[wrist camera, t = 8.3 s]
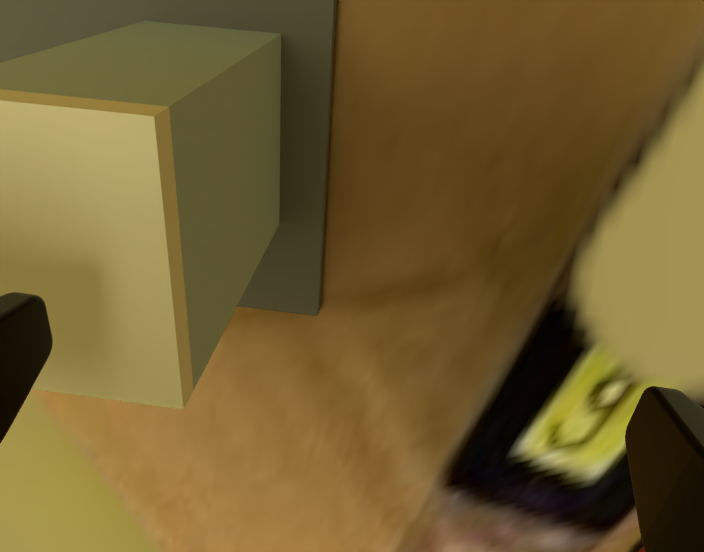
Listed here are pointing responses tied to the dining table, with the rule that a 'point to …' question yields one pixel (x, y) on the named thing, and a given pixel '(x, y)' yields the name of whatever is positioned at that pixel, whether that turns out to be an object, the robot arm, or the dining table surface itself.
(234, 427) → the dining table surface
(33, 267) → the pale green block
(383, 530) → the dining table surface
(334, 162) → the dining table surface
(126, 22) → the mat
